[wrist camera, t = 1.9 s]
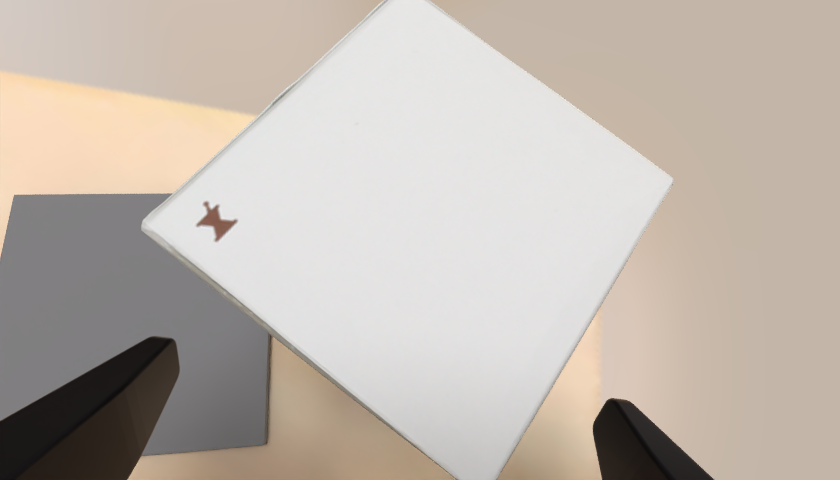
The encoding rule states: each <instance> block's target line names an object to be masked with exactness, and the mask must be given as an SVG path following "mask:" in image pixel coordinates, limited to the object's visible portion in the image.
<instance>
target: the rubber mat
mask: <svg viewBox="0 0 840 480" xmlns="http://www.w3.org/2000/svg"><path fill="white" fill-rule="evenodd" d="M171 195H172V194H65V195H14V198H13V202H12V207H11V212H10V216H9V221H8V226H7V230H6V235H5V239H4V244H3V249H2V253H1V258H0V420H2V419H4V418H6V417H7V416H9V415H11V414H13V413H14V412H16V411H18V410H20V409H22V408H23V407H25V406H27V405H29V404H31V403H32V402H34V401H36V400H38V399H39V398H41V397H43V396H45V395H47V394H48V393H50V392H52V391H54V390H55V389H57V388H59V387H61V386H63V385H64V384H66V383H68V382H70V381H71V380H73V379H75V378H77V377H79V376H80V375H82V374H84V373H86V372H87V371H89V370H91V369H93V368H95V367H96V366H98V365H100V364H102V363H103V362H105V361H107V360H109V359H111V358H112V357H114V356H116V355H118V354H120V353H121V352H123V351H125V350H127V349H128V348H130V347H132V346H134V345H136V344H137V343H139V342H141V341H143V340H144V339H146V338H148V337H151V336H161V337H168V338H173V339H174V340H175V341H176V344H177V350H178V357H179V364H180V373H179V376H178V379H177V382H176V384H175V386H174V388H173V390H172V392H171V394H170V396H169V399H168V401H167V403H166V405H165V407H164V409H163V411H162V413H161V416H160V418H159V420H158V422H157V424H156V426H155V428H154V430H153V433H152V435H151V437H150V439H149V441H148V443H147V445H146V447H145V449H144V451H143V453H142V455H141V456H148V455H159V454H170V453H181V452H193V451H204V450H215V449H226V448H238V447H249V446H260V445H265V444H266V443H267V426H268V398H269V370H270V343H271V334H269V333H268V332H267V331H266V330H264V329H263V328H262V327H261V326H259V325H258V324H257V323H256V322H254V321H253V320H252V319H251V318H249V317H248V316H247V315H246V314H244V313H243V312H242V311H241V310H239V309H238V308H237V307H236V306H234V305H233V304H232V303H231V302H229V301H228V300H227V299H226V298H224V297H223V296H222V295H221V294H219V293H218V292H217V291H216V290H214V289H213V288H212V287H211V286H209V285H208V284H207V283H206V282H204V281H203V280H202V279H201V278H199V277H198V276H197V275H196V274H194V273H193V272H192V271H191V270H190V269H188V268H187V267H186V266H185V265H183V264H182V263H181V262H180V261H178V260H177V259H176V258H175V257H173V256H172V255H171V254H170V253H168V252H167V251H166V250H165V249H163V248H162V247H161V246H160V245H158V244H157V243H156V242H155V241H154V240H152V239H151V238H150V237H149V236H148V235H146V234H145V233H144V232H143V231H142V230H141V225H142V221H143V219H145V218H146V217H147V216H148V215H149V214H150V213H151V212H152V211H153V210H154V209H155V208H157V207H158V206H159V205H161V204H162V203H163V202H164V201H165V200H166V199H168V198H169V197H170V196H171Z"/></svg>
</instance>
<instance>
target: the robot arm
mask: <svg viewBox="0 0 840 480" xmlns="http://www.w3.org/2000/svg"><path fill="white" fill-rule="evenodd" d="M179 373H180V364H179V357H178V350H177V344H176V341H175V340H174V339H173V338H168V337H161V336H151V337H148V338H146V339H144V340H143V341H141V342H139V343H137V344H136V345H134V346H132V347H130V348H128V349H127V350H125V351H123V352H121V353H120V354H118V355H116V356H114V357H112V358H111V359H109V360H107V361H105V362H103V363H102V364H100V365H98V366H96V367H95V368H93V369H91V370H89V371H87V372H86V373H84V374H82V375H80V376H79V377H77V378H75V379H73V380H71V381H70V382H68V383H66V384H64V385H63V386H61V387H59V388H57V389H55V390H54V391H52V392H50V393H48V394H47V395H45V396H43V397H41V398H39V399H38V400H36V401H34V402H32V403H31V404H29V405H27V406H25V407H23V408H22V409H20V410H18V411H16V412H14V413H13V414H11V415H9V416H7V417H6V418H4V419H2V420H0V480H127V479H128V478H129V476H130V474H131V473H132V471H133V469H134V467H135V466H136V464H137V462H138V460H139V459H140V457H141V455H142V453H143V451H144V449H145V447H146V445H147V443H148V441H149V439H150V437H151V435H152V433H153V430H154V428H155V426H156V424H157V422H158V420H159V418H160V416H161V413H162V411H163V409H164V407H165V405H166V403H167V401H168V399H169V396H170V394H171V392H172V390H173V388H174V386H175V384H176V382H177V379H178V376H179ZM593 436H594V441H595V446H596V451H597V456H598V461H599V466H600V471H601V476H602V480H714V479H713V478H712V477H711V476H710V475H709V474H707V473H706V472H705V471H704V470H703V469H702V468H701V467H700V466H699V465H698V464H697V463H696V462H695V461H694V460H692V459H691V458H690V457H689V456H688V455H687V454H686V453H685V452H684V451H683V450H682V449H681V448H680V447H679V446H677V445H676V444H675V443H674V442H673V441H672V440H671V439H670V438H669V437H668V436H667V435H666V434H665V433H664V432H663V431H661V430H660V429H659V428H658V427H657V426H656V425H655V424H654V423H653V422H652V421H651V420H650V419H648V417H646V416H645V415H644V414H643V413H642V412H641V411H640V410H639V409H638V408H637V407H636V406H635V405H634V404H632V403H631V402H630V401H627V400H622V399H614V398H611V399H608V400H607V401H606V403H605V404H604V406H603V407H602V409H601V411H600V412H599V414H598V416H597V417H596V419H595V421H594V424H593Z"/></svg>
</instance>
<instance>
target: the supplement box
mask: <svg viewBox="0 0 840 480" xmlns="http://www.w3.org/2000/svg"><path fill="white" fill-rule="evenodd" d="M672 185H673V178H672V177H671V176H670V175H668V174H667V173H666V172H664V171H663V170H661V169H660V168H659V167H657V166H656V165H655V164H653V163H652V162H651V161H649V160H648V159H647V158H645V157H644V156H643V155H641V154H640V153H638V152H637V151H636V150H634V149H633V148H632V147H630V146H629V145H627V144H626V143H625V142H623V141H622V140H621V139H619V138H618V137H617V136H615V135H614V134H612V133H611V132H610V131H608V130H607V129H605V128H604V127H603V126H601V125H600V124H598V123H597V122H595V121H594V120H593V119H591V118H590V117H589V116H587V115H586V114H584V113H583V112H582V111H580V110H579V109H578V108H576V107H575V106H574V105H572V104H571V103H570V102H568V101H567V100H565V99H564V98H563V97H561V96H560V95H558V94H557V93H556V92H554V91H553V90H551V89H550V88H549V87H547V86H546V85H544V84H543V83H542V82H540V81H539V80H538V79H536V78H535V77H533V76H532V75H530V74H529V73H528V72H526V71H525V70H523V69H522V68H520V67H519V66H517V65H516V64H515V63H513V62H512V61H510V60H509V59H507V58H506V57H505V56H503V55H502V54H500V53H499V52H498V51H496V50H495V49H493V48H492V47H491V46H489V45H488V44H486V43H485V42H484V41H483V40H481V39H480V38H479V37H477V36H476V35H475V34H474V33H472V32H471V31H470V30H468V29H467V28H466V27H464V26H463V25H462V24H460V23H459V22H458V21H456V20H455V19H454V18H452V17H451V16H450V15H449V14H447V13H446V12H444V11H443V10H442V9H440V8H439V7H438V6H436V5H435V4H434V3H432V2H431V1H429V0H384V1H382V2H381V3H380V4H379V5H378V6H377V7H376V8H374V10H372V11H371V12H370V13H369V14H368V15H367V16H366V17H365V18H364V19H363V20H362V21H361V22H360V23H359V24H358V25H357V26H356V27H355V28H353V29H352V30H351V31H350V32H349V33H348V34H347V35H346V36H345V37H344V38H342V40H340V41H339V42H338V43H337V44H336V45H335V46H334V47H333V48H331V49H330V50H329V51H328V52H327V53H326V54H325V55H324V56H323V57H322V58H321V59H320V60H319V61H317V62H316V63H315V64H314V65H313V66H312V67H311V68H310V69H309V70H308V71H306V72H305V73H304V74H303V75H302V76H301V77H300V78H299V79H297V80H296V81H295V82H294V83H293V84H291V85H290V86H288V87H287V88H286V89H285V90H284V91H283V92H282V93H281V94H280V95H279V96H277V97H276V98H275V99H274V100H273V101H272V102H271V103H270V104H269V106H268V107H267V108H266V109H265V110H264V111H263V112H262V113H261V114H260V115H258V116H257V117H256V118H255V119H254V120H253V121H252V122H251V123H250V124H248V125H247V126H246V127H245V128H244V129H243V130H242V131H241V132H240V133H239V134H238V135H237V136H236V137H235V138H233V139H232V140H231V141H230V142H229V143H228V144H227V145H226V146H225V147H224V148H223V149H221V150H220V151H219V152H218V153H217V154H216V155H215V156H214V157H213V158H212V159H211V160H209V161H208V162H207V163H206V164H205V165H204V166H203V167H202V168H201V169H199V170H198V171H197V172H196V173H195V174H194V175H193V176H192V177H191V178H189V179H188V180H187V181H186V182H185V183H184V184H183V185H182V186H181V187H180V188H179V189H178V190H176V191H175V192H174V193H173V194H172V195H171V196H170V197H169V198H168V199H166V200H165V201H164V202H163V203H162V204H161V205H159V206H158V207H157V208H155V209H154V210H153V211H152V212H151V213H150V214H149V215H148V216H147V217H146V218H145V219H143V221H142V225H141V230H142V231H143V232H144V233H145V234H146V235H148V236H149V237H150V238H151V239H152V240H154V241H155V242H156V243H157V244H158V245H160V246H161V247H162V248H163V249H165V250H166V251H167V252H168V253H170V254H171V255H172V256H173V257H175V258H176V259H177V260H178V261H180V262H181V263H182V264H183V265H185V266H186V267H187V268H188V269H190V270H191V271H192V272H193V273H194V274H196V275H197V276H198V277H199V278H201V279H202V280H203V281H204V282H206V283H207V284H208V285H209V286H211V287H212V288H213V289H214V290H216V291H217V292H218V293H219V294H221V295H222V296H223V297H224V298H226V299H227V300H228V301H229V302H231V303H232V304H233V305H234V306H236V307H237V308H238V309H239V310H241V311H242V312H243V313H244V314H246V315H247V316H248V317H249V318H251V319H252V320H253V321H254V322H256V323H257V324H258V325H259V326H261V327H262V328H263V329H264V330H266V331H267V332H268V333H269V334H271V335H272V336H273V337H274V338H276V339H277V340H278V341H279V342H281V343H282V344H283V345H285V346H286V347H287V348H288V349H290V350H291V351H292V352H294V353H295V354H296V355H297V356H299V357H300V358H301V359H303V360H304V361H305V362H306V363H308V364H309V365H310V366H312V367H313V368H314V369H315V370H317V371H318V372H319V373H320V374H322V375H323V376H324V377H326V378H327V379H328V380H329V381H331V382H332V383H333V384H335V385H336V386H337V387H338V388H340V389H341V390H342V391H343V392H345V393H346V394H347V395H349V396H350V397H351V398H352V399H354V400H355V401H356V402H358V403H359V404H360V405H361V406H363V407H364V408H365V409H366V410H368V411H369V412H370V413H372V414H373V415H374V416H376V417H377V418H378V419H379V420H381V421H382V422H383V423H385V424H386V425H387V426H388V427H390V428H391V429H392V430H394V431H395V432H396V433H398V434H399V435H400V436H401V437H403V438H404V439H405V440H407V441H408V442H409V443H410V444H412V445H413V446H414V447H416V448H417V449H418V450H420V451H421V452H422V453H423V454H425V455H426V456H427V457H429V458H430V459H431V460H432V461H434V462H435V463H436V464H438V465H439V466H440V467H442V468H443V469H444V470H445V471H447V472H448V473H449V474H450V475H452V476H453V477H454V478H455V479H457V480H497V478H498V476H499V475H500V473H501V471H502V470H503V468H504V466H505V465H506V463H507V461H508V460H509V458H510V456H511V455H512V453H513V451H514V450H515V448H516V446H517V445H518V443H519V441H520V440H521V438H522V436H523V435H524V433H525V431H526V430H527V428H528V427H529V425H530V423H531V422H532V420H533V419H534V417H535V415H536V414H537V412H538V410H539V409H540V407H541V405H542V404H543V402H544V400H545V399H546V397H547V395H548V393H549V392H550V390H551V388H552V387H553V385H554V383H555V382H556V380H557V378H558V377H559V375H560V373H561V372H562V370H563V368H564V367H565V365H566V363H567V362H568V360H569V358H570V357H571V355H572V353H573V352H574V350H575V348H576V347H577V345H578V343H579V342H580V340H581V338H582V336H583V335H584V333H585V331H586V330H587V328H588V326H589V325H590V323H591V321H592V320H593V318H594V316H595V315H596V313H597V311H598V310H599V308H600V306H601V305H602V303H603V301H604V300H605V298H606V296H607V295H608V293H609V291H610V289H611V288H612V286H613V284H614V283H615V281H616V279H617V278H618V276H619V274H620V273H621V271H622V269H623V268H624V266H625V264H626V262H627V261H628V259H629V257H630V255H631V254H632V252H633V250H634V249H635V247H636V245H637V244H638V242H639V240H640V239H641V237H642V235H643V233H644V232H645V230H646V228H647V226H648V225H649V223H650V222H651V220H652V218H653V216H654V215H655V213H656V211H657V210H658V208H659V206H660V204H661V203H662V201H663V199H664V198H665V196H666V194H667V193H668V191H669V190H670V188H671V187H672Z"/></svg>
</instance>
